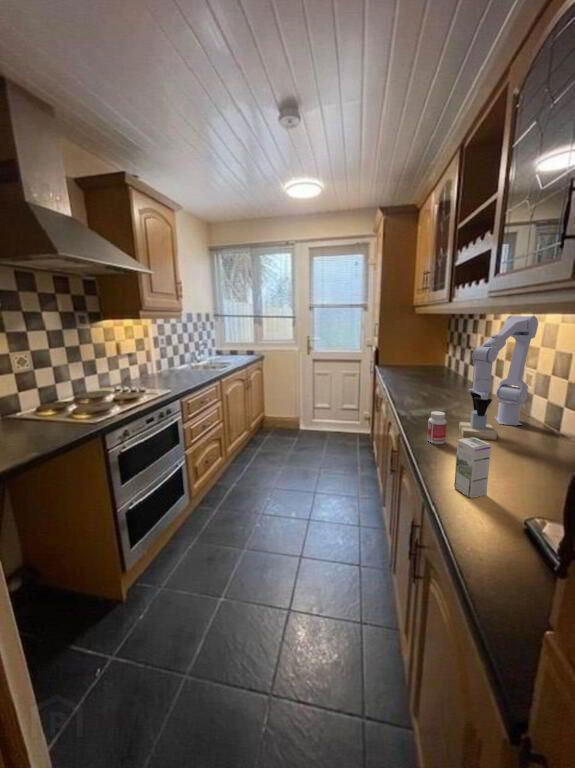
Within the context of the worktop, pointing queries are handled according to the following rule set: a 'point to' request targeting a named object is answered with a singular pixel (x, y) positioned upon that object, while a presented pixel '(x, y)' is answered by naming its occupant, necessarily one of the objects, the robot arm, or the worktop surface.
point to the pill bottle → (437, 428)
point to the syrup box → (472, 466)
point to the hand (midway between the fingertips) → (478, 412)
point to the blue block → (478, 421)
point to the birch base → (477, 431)
